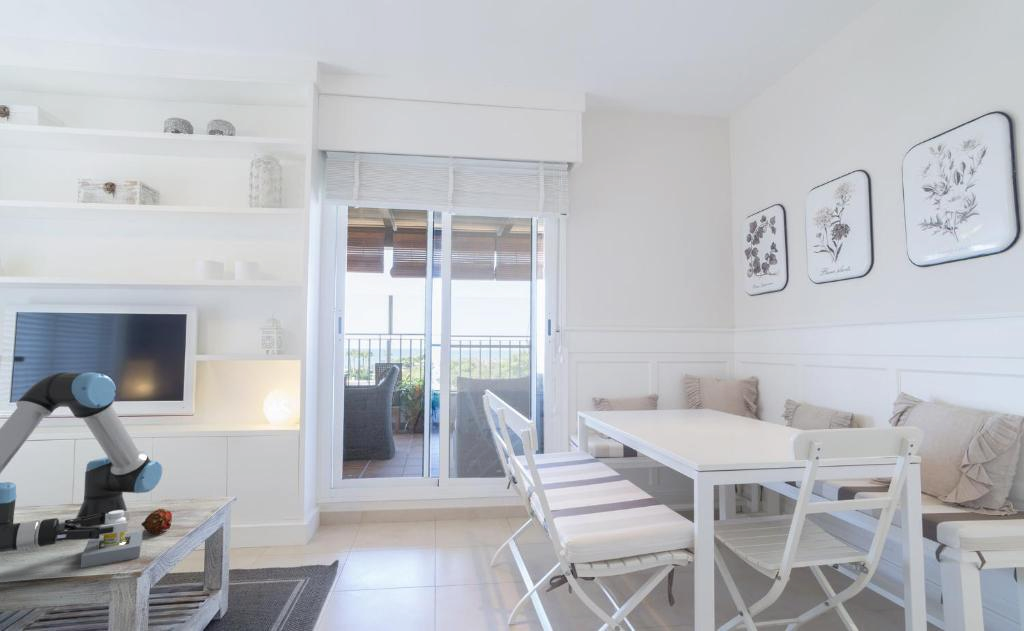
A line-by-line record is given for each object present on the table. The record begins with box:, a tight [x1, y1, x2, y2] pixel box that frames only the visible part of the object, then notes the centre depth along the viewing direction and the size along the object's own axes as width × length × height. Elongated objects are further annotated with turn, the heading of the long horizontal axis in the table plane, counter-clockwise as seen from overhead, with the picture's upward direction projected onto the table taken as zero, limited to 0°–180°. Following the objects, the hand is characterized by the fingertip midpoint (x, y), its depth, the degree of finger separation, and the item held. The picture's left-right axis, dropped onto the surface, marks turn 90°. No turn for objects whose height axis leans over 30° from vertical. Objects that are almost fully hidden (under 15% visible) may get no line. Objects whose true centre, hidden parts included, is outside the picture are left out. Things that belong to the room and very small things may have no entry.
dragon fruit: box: [141, 508, 173, 534], centre depth 180 cm, size 8×8×12 cm
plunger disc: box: [101, 540, 127, 548], centre depth 159 cm, size 6×6×2 cm
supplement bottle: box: [103, 510, 127, 546], centre depth 160 cm, size 5×5×10 cm
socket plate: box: [80, 530, 144, 569], centre depth 159 cm, size 16×14×4 cm
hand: (128, 520), depth 162 cm, fingers open, 13 cm apart
